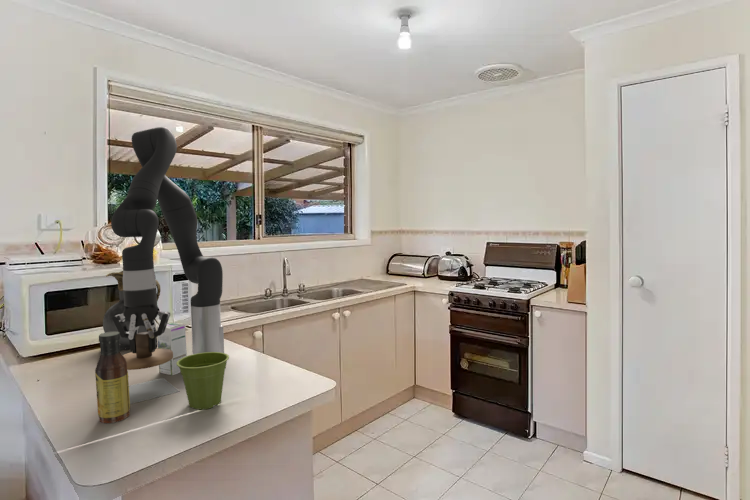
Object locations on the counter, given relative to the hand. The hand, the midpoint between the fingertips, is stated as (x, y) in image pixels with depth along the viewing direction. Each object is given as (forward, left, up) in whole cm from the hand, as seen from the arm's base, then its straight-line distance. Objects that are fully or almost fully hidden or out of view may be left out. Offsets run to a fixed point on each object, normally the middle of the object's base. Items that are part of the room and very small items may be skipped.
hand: (144, 351), depth 113 cm
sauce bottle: (+10, +13, -11) cm, 19 cm away
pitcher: (-9, -51, -11) cm, 53 cm away
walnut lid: (0, 0, -2) cm, 2 cm away
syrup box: (-10, -11, -11) cm, 19 cm away
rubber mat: (+1, 0, -11) cm, 11 cm away
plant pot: (-8, +19, -11) cm, 23 cm away
